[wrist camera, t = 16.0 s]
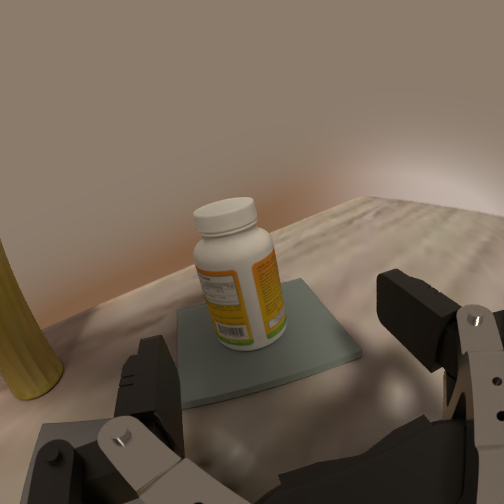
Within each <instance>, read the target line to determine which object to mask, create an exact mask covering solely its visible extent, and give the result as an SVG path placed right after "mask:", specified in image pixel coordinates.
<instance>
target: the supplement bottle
mask: <svg viewBox="0 0 504 504" xmlns="http://www.w3.org/2000/svg"><path fill="white" fill-rule="evenodd" d="M193 216H194V221H195V225H196V230H197V231H198V234H199V235H201V236H202V237H203V239H202V240H201V241H199V242H198V243H197V245H196V247H195V249H194V252H193V257H194V262H195V266H196V269H197V273H198V276H199V279H200V283H201V286H202V289H203V293H204V296H205V299H206V303H207V306H208V309H209V312H210V316H211V319H212V322H213V325H214V328H215V331H216V334H217V337H218V339H219V341H220V342H221V343H222V344H223V345H224V346H226V347H228V348H230V349H233V350H238V351H252V350H257V349H260V348H263V347H265V346H268V345H270V344H271V343H273V342H275V341H276V340H277V339H278V338H279V337H281V335H282V334H283V333H284V331H285V329H286V326H287V319H286V312H285V306H284V301H283V295H282V289H281V284H280V278H279V272H278V267H277V261H276V256H275V250H274V245H273V241H272V238H271V236H270V234H269V233H268V232H267V231H265V230H264V229H262V228H259V227H256V226H255V223H256V222H257V220H258V219H257V212H256V208H255V203H254V200H253V199H252V198H249V197H237V198H231V199H225V200H221V201H217V202H214V203H210V204H208V205H205V206H203V207H201V208H199V209H197V210H195V212H194V213H193Z"/></svg>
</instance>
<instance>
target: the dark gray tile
mask: <svg viewBox="0 0 504 504" xmlns="http://www.w3.org/2000/svg"><path fill="white" fill-rule="evenodd" d="M112 419H114V418H111V419H102V420H92V421H81V422H67V423H49V424H42V427H41V430H40V433H39V436H38V439H37V442H36V445H35V448H34V452H33V455H32V458H31V462H30V465H29V469H28V473H27V476H26V480H25V484H24V488H23V492H22V496H21V501H20V504H27V501H28V495H29V489H30V484H31V478H32V473H33V469H34V464H35V459H36V456H37V453H38V451H39V450H40V448H41V447H42V446H43V445H45V444H46V443H47V442H49V441H52V440H55V439H63V440H66V441H68V442H69V443H70V444H71V445H72V446H73V447H74V448H77V447H80V446H83V445H85V444H88V443H91V442H93V441H96V440H98V434H99V431H100V430H101V428H102V427H103V426H104V425H105V424H106V423H107V422H108V421H110V420H112ZM124 504H145V503H144V502H143V501H142V499H141V498H138V499H135V500H132V501H129V502H127V503H124Z"/></svg>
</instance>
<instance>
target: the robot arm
mask: <svg viewBox="0 0 504 504" xmlns="http://www.w3.org/2000/svg"><path fill="white" fill-rule="evenodd" d="M377 315H378V318H379V320H380V322H381V324H382V325H383V326H384V327H385V328H386V329H387V330H388V331H389V332H390V333H391V334H392V335H393V336H394V337H395V338H396V339H397V340H398V341H400V342H401V343H402V344H403V345H404V346H405V347H406V348H407V349H408V350H409V351H410V352H411V353H412V354H413V355H414V356H415V357H416V358H417V359H418V360H419V361H420V362H421V363H422V364H423V365H424V366H425V367H426V368H427V369H428V370H429V371H430V373H432V372H434V371H436V370H438V369H440V368H441V367H443V368H444V369H445V371H444V375H443V418H442V420H439V421H434V422H430V421H429V420H428V419H427V418H426V417H425V415H422V416H420V417H418V418H416V419H415V420H413V421H411V422H409V423H407V424H405V425H403V426H401V427H399V428H397V429H395V430H393V431H392V432H391V433H389V434H388V435H387V436H386V437H384V438H383V439H382V440H381V441H379V442H378V443H377V444H376V445H374V446H373V447H372V448H370V449H369V450H368V451H366V452H365V453H363V454H361V455H358V456H353V457H348V458H343V459H337V460H330V461H324V462H318V463H315V464H312V465H309V466H306V467H303V468H300V469H297V470H293V471H290V472H287V473H283V474H280V475H278V476H279V479H280V482H281V485H279V486H277V487H276V488H274V489H272V490H271V491H269V492H268V493H266V494H265V495H264V496H262V497H261V498H260V499H259V500H258V501H257V502H256V503H255V504H504V310H501V311H497V312H494V313H492V312H491V311H490V310H489V309H487V308H485V307H483V306H480V305H466V306H463V307H461V306H460V305H458V304H457V303H456V302H454V301H453V300H451V299H450V298H448V297H447V296H445V295H444V294H442V293H441V292H438V290H436V289H435V288H433V287H431V286H430V285H429V284H427V283H426V282H424V281H423V280H420V279H417V278H413V277H409V276H408V275H406V274H405V273H403V272H402V271H400V270H398V269H392V270H390V271H387V272H384V273H381V274H379V275H378V276H377ZM119 386H120V388H119V389H118V395H117V401H116V407H115V413H114V419H112V420H110V421H108V422H107V423H106V424H105V425H104V426H103V427H102V428H101V430H100V431H99V434H98V440H96V441H93V442H91V443H88V444H85V445H83V446H80V447H77V448H74V447H73V446H72V445H71V444H70V443H69V442H68V441H66V440H63V439H55V440H52V441H49V442H47V443H46V444H45V445H43V446H42V447H41V448H40V450H39V451H38V453H37V456H36V459H35V464H34V469H33V473H32V478H31V484H30V489H29V495H28V501H27V504H124V503H127V502H129V501H132V500H135V499H138V498H141V499H142V501H143V502H144V503H145V504H251V503H249V502H248V501H246V500H245V499H243V498H242V497H240V496H239V495H237V494H236V493H234V492H233V491H231V490H230V489H228V488H227V487H225V486H224V485H223V484H221V483H220V482H218V481H217V480H216V479H214V478H213V477H211V476H210V475H209V474H207V473H206V472H205V471H203V470H202V469H201V468H199V467H198V466H197V465H196V464H194V463H193V462H192V461H190V460H189V459H187V458H186V457H185V453H184V440H183V425H182V408H181V387H180V379H179V375H178V372H177V369H176V366H175V364H174V362H173V359H172V357H171V355H170V352H169V350H168V348H167V345H166V343H165V340H164V338H163V337H162V335H158V336H153V337H149V338H144V339H141V340H140V344H139V350H138V354H137V355H133V356H130V357H129V358H128V360H127V361H126V363H125V364H124V366H123V368H122V374H121V379H120V384H119ZM182 457H183V458H182Z"/></svg>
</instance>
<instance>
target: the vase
mask: <svg viewBox="0 0 504 504" xmlns="http://www.w3.org/2000/svg"><path fill="white" fill-rule="evenodd" d="M62 372H63V364H62V362H61V361H60V360H59V359H58V357H57V356H56V355H55V353H54V352H53V350H52V348H51V347H50V345H49V343H48V341H47V340H46V338H45V336H44V334H43V333H42V331H41V329H40V327H39V326H38V324H37V322H36V320H35V318H34V316H33V315H32V313H31V310H30V309H29V306H28V305H27V302H26V301H25V298H24V296H23V294H22V292H21V290H20V288H19V285H18V283H17V281H16V279H15V276H14V275H13V272H12V269H11V267H10V264H9V262H8V259H7V257H6V254H5V251H4V249H3V246H2V243H1V240H0V373H1V375H2V376H3V378H4V379H5V381H6V382H7V384H8V386H9V388H10V390H11V392H12V394H13V395H14V396H15V397H16V398H18V399H20V400H31V399H35V398H38V397H40V396H42V395H44V394H45V393H47V392H48V391H49V390H51V389H52V388H53V387H54V386H55V385H56V383H57V382H58V381H59V379H60V377H61V375H62Z"/></svg>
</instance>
